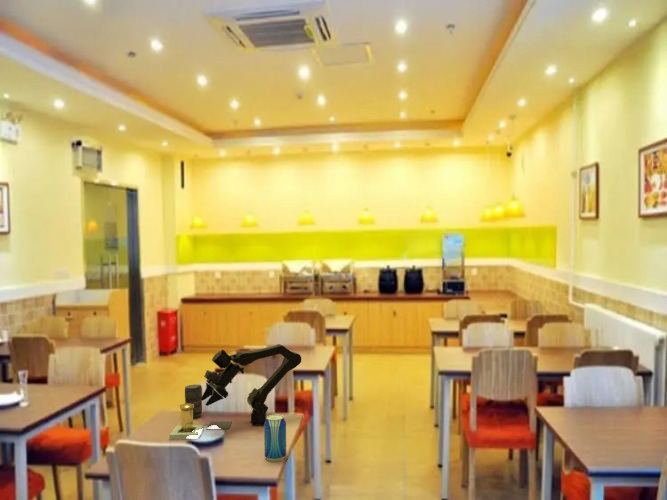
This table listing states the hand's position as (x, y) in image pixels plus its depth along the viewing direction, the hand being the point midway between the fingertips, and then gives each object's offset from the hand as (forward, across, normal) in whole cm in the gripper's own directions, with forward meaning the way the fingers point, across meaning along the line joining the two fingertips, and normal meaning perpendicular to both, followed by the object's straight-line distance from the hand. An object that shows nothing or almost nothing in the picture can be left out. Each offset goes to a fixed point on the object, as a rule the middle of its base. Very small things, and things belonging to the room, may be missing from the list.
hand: (203, 402), depth 242 cm
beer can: (-3, +43, +22) cm, 48 cm away
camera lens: (+9, -24, +10) cm, 27 cm away
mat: (+4, -5, +15) cm, 16 cm away
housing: (+14, 0, +4) cm, 15 cm away
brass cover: (+15, 0, +4) cm, 15 cm away
